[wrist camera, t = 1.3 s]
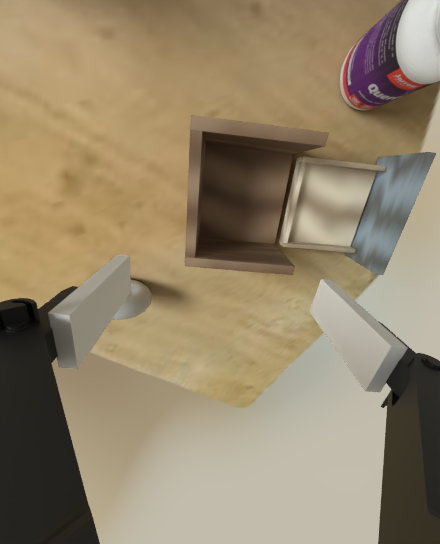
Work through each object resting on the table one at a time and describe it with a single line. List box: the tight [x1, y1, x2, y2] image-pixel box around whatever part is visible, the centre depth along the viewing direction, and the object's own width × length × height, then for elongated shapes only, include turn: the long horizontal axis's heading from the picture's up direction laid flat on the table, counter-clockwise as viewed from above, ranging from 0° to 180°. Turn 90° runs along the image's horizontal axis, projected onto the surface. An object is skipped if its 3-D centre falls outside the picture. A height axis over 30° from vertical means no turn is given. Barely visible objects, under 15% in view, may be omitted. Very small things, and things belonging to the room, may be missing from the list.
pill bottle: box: [340, 0, 440, 110], centre depth 23 cm, size 8×8×14 cm
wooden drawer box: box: [185, 115, 329, 275], centre depth 30 cm, size 16×14×11 cm
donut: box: [112, 279, 152, 320], centre depth 36 cm, size 10×4×10 cm, turn 78°
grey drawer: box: [279, 152, 436, 275], centre depth 32 cm, size 16×15×8 cm
